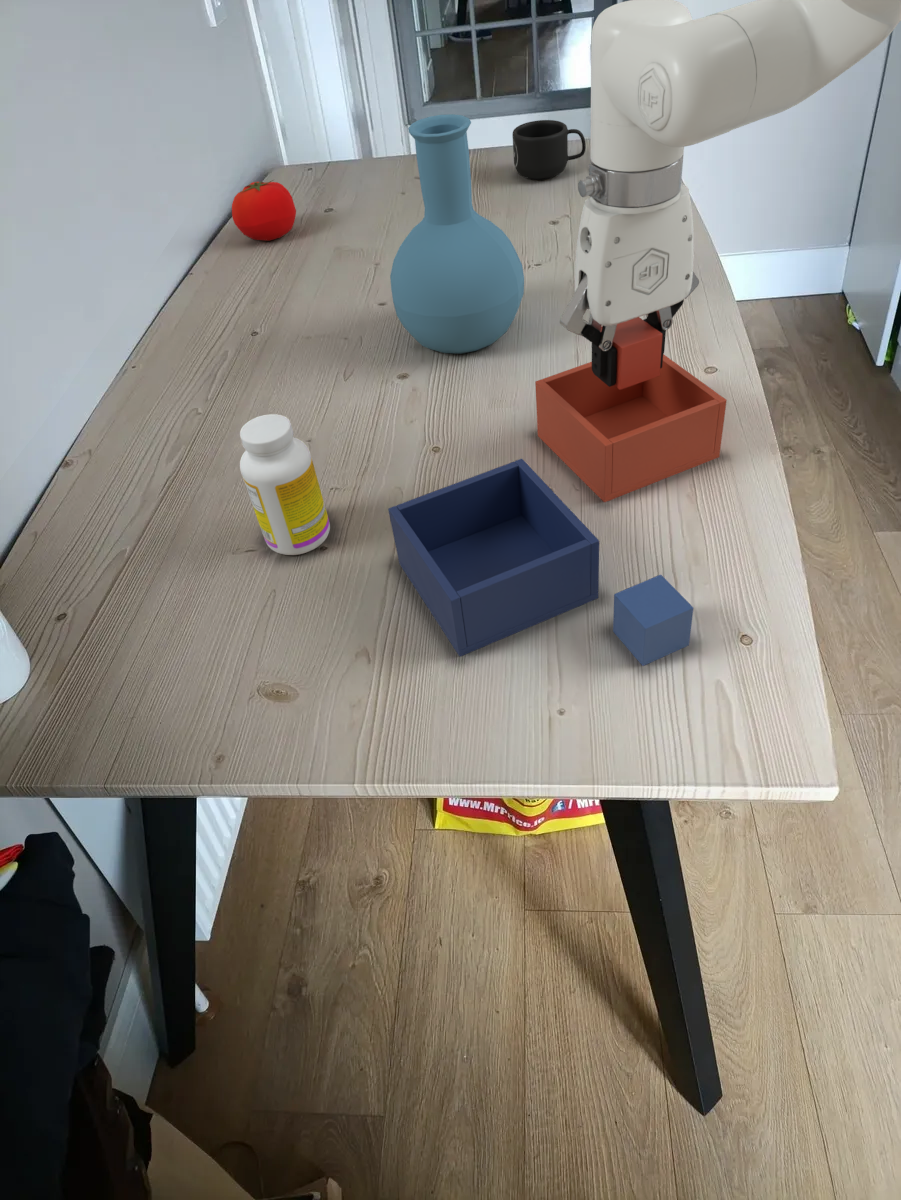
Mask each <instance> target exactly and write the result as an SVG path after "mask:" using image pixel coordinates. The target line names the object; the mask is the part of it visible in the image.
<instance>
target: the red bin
mask: <svg viewBox="0 0 901 1200" xmlns="http://www.w3.org/2000/svg"><path fill="white" fill-rule="evenodd" d="M534 382H535V383H534V386H535V407H536V426H537V437H538V438H539V439H540V440H541V441H542V442H543V443H544V444H545V445H546V446H547V447H548V448H549V449H550V450H551V451H552V452H553V453H554V454H555V455H556V456H557V457H558V458H559V459H560V460H561V461H562V462H563V463H564V464H565V465H566V466H567V468H569V469H570V470H571V471H572V472H573V473H574V474H575V475H576V476H577V477H578V478H579V479H580V480H581V481H582V482H583V483H584V485H586V486H587V487H588V488H589V489H590V490H591V491H592V492H593V493H594V494H595V495H596V497H598V498H599V499H600V500H601V501H602V502H603V503H606V502H610V501H612V500H614V499H618V498H620V497H622V496H625V495H628V494H630V493H632V492H634V491H637V490H640V489H642V488H644V487H648V486H651V485H652V484H655V483H658V482H660V481H662V480H664V479H667V478H670V477H673V476H675V475H678V474H680V473H683V472H685V471H688V470H690V469H693V468H695V467H699V466H700V465H703V464H706V463H708V462H710V461H713V460H715V459H718V458H720V455H721V448H722V439H723V431H724V424H725V415H726V408H727V399H726V398H724V397H723V396H722V395H720V393H718V392H716V391H715V390H713V389H712V388H711V387H709V386H708V385H706V384H705V383H704V382H703V381H701V380H700V379H698V378H697V377H696V376H694V375H693V374H692V373H690V372H689V371H687V370H686V369H685V368H683V367H682V366H681V365H679V364H678V363H677V362H675V361H673V359H671V358H669V357H668V356H666V354H665V353H664V354H663V364H662V368H660V376H657V377H655V378H652V379H649V380H646V381H644V382H641V383H638V384H635V385H633V386H630V387H627V388H624V389H621V390H620V389H618V388H617V387H616V386H615V385H613V386H611V387H609V386H608V385H606V384H605V383H604V382H603V381H602V380H600V379H599V378H598V377H597V376H596V375H594V373H593V371H592V361H590V362H587V363H584V364H581V365H578V366H575V367H572V368H570V369H567V370H564V371H560V372H558V373H555V374H553V375H550V376H547V377H544V378H542V379H538V380H535V381H534Z"/></svg>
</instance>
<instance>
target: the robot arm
mask: <svg viewBox="0 0 901 1200" xmlns="http://www.w3.org/2000/svg"><path fill="white" fill-rule="evenodd" d="M900 22H901V0H752V1H751V2H749V1H748V2H746V3H743V4H740V5H737V6H734V7H731V8H728V9H725V10H722V11H719V12H715V13H712V14H708V15H706V16H703V17H699V18H695V19H693V17H692V14H691V12H690V9H689V8H688V7H687V6H686V5H685V4H684V3H682V2H680V1H677V0H625V1H622V2H618V3H615V4H613V5H611V6H608V7H607V8H605V9H603V11H601V12H600V13H599V14H598V15H597V17H596V19H595V21H594V23H593V26H592V30H591V38H590V39H591V40H590V150H589V151H590V152H589V153H590V154H589V156H590V163H589V164H588V175H587V176H586V177H585V178H582V179H580V180H579V181H578V183H577V190H578V193H579V195H580V197H582V198H586V197H588V198H587V199H585V200H584V202H583V206H582V207H583V208H582V209H581V210H582V211H581V216H580V221H579V226H578V233H577V241H576V250H575V262H574V293H573V295H572V297H571V299H570V300H569V302H568V304H567V306H566V308H565V310H564V312H563V313H562V315H561V316H560V318H559V324H560V325H561V326H562V327H563V328H564V329H566V330H567V331H569V332H571V333H573V334H575V335H578V336H581V337H583V338H585V339H586V340H587V341H589V342H590V343H591V362H592V371H593V373H594V375H596V376H597V377H598V378H599V379H600V380H602V381H603V382H604V383H605V384H606V385H608V386H609V387H611V386H613V385H615V383H616V372H617V349H616V348H615V347H614V346H612V344H613V339H614V335H615V331H616V327H617V324H619V323H622V322H626V321H628V320H631V319H634V318H637V317H640V318H641V317H643V316H645V317H646V318H643V320H644V321H645V322H647V323H648V324H649V325H651V326H652V327H654V328H655V329H657V330H658V331H659V332H661V333H662V348H661V363H660V368H662V364H663V354H664V355H665V349H666V336H667V335H666V334H667V331H668V330H669V329H670V328H671V327H672V325H673V323H674V321H673V318H674V317H675V315H676V314H677V313H678V311H679V310H680V309H681V308H682V306H683V304H684V303H685V302H684V301H685V300H686V299H687V298H689V296H690V295H691V294H692V293H693V292H694V291H695V290H696V288H697V287H698V286H699V284H700V279H699V278H698V276H697V275H696V273H695V272H694V255H695V253H694V243H695V241H694V240H695V239H694V218H693V208H692V202H691V194H690V189H689V187H688V186H687V185H684V184H683V183H682V180H683V166H684V153H685V147H691V146H693V145H696V144H700V143H702V142H705V141H708V140H711V139H714V138H716V137H719V136H721V135H725V134H727V133H730V132H731V131H734V130H737V129H739V128H742V127H744V126H748V125H750V124H752V123H755V122H757V121H760V120H763V119H766V118H769V117H772V116H775V115H777V114H780V113H783V112H785V111H787V110H789V109H791V108H793V107H795V106H797V105H799V104H800V103H802V102H804V101H806V100H807V99H808V98H810V97H811V96H813V95H814V94H816V93H818V91H820V90H821V89H823V88H824V87H826V86H827V85H829V83H831V82H833V81H834V80H835V79H837V78H838V77H839V76H841V75H842V74H844V73H845V72H846V71H848V70H849V69H851V68H852V67H853V66H855V65H856V64H857V63H859V62H860V61H861V60H862V59H864V58H866V56H868V55H869V54H870V53H871V52H873V51H874V50H875V49H876V48H878V47H879V46H880V45H881V44H882V43H883V42H884V41H885V40H886V39H887V38H888V37H889V36H890V35H891V34H892V32H893V31H894V30H895V29H896V28H897V26H898V24H900ZM588 310H589V312H590V315H589V319H588V321H587V320H585V319H583V318H584V315H585V313H586V311H588ZM602 326H603V327H602ZM601 327H602V331H601ZM600 331H601V332H600Z"/></svg>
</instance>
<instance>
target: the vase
mask: <svg viewBox="0 0 901 1200" xmlns="http://www.w3.org/2000/svg"><path fill="white" fill-rule="evenodd" d="M471 124H472V121H471V119H470V118H469V117H467V116H465V115H462V114H456V113H455V114H454V113H452V114H451V113H450V114H449V113H447V114H437V115H430V116H427V117H423V118H421V119H418V120H416V121H414V122H412V123H411V124H410V125H409V127H408V128H407V130H408V133H409V135H410V136H411V137H412V138H413V139H414V146H415V154H416V155H415V156H416V162H417V170H418V176H419V183H420V190H421V195H422V201H423V206H424V211H423V213H424V216H423V218H422V220H421V221H420V222H418V223H417V224H416V225H414V227H413V228H412V229H411V230H410V232H409V233H408V234H407V235H406V236H405V238H404V240H403V241H402V243H401V244H400V246H399V247H398V250H397V251H396V254H395V256H394V258H393V260H392V266H391V271H390V289H391V290H390V291H391V298H392V302H393V307H394V310H395V314H396V317H397V318H398V320H399V322H400V323H401V325H402V327H403V328H404V329H405V330H406V331H407V332H408V333H409V334H410V335H411V336H412V337H413V339H415V341H416V342H417V343H419V344H420V345H421V346H422V347H424V348H426V349H428V350H431V351H435V352H439V353H443V354H457V355H459V354H461V355H462V354H467V353H472V352H477V351H480V350H483V349H484V348H487V347H489V346H491V345H493V344H494V343H495V342H496V341H498V340H499V339H500V338H502V337H503V335H505V334H506V333H507V332H508V330H509V329H510V327H511V325H512V323H513V321H514V320H515V318H516V315H517V313H518V311H519V308H520V305H521V302H522V300H523V297H524V294H525V274H524V267H523V264H522V261H521V259H520V257H519V254H518V253H517V251H516V249H515V247H514V244H513V243H512V241H511V239H510V238H509V237H508V235H507V234H506V233H505V232H504V231H503V230H502V229H501V228H500V227H499V226H498V225H496V224H495V223H494V222H492V221H491V220H489V218H488V219H487V218H486V217H484V216H482V215H481V214H480V213H478V212H477V211H476V210H475V209H474V206H473V196H472V195H473V194H472V175H471V161H470V160H471V159H470V150H469V139H468V130H469V128H470V126H471Z"/></svg>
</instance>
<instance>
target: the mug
mask: <svg viewBox="0 0 901 1200" xmlns="http://www.w3.org/2000/svg"><path fill="white" fill-rule="evenodd" d="M570 134H577V136H579V138H580V140H581V144H582V145H581V151H580V152H579V153H577V154H573V155H569V147H568V146H569V143H568V139H569V138H568V136H569V135H570ZM586 147H587V144H586V138H585V135H584V134H583V133H582V132H581V130H579V129H576V128H570V129H568V126H567V124H566V123H564V122H562V121H559V120H554V119H539V120H532V121H527V122H525V123H521V124H519V125H518V126H516V127H515V128H514V129H513V130H512V152H513V165H514V169H515V171H516V172H517V174H518V175H519V176H521V177H523V178H526V179H528V180H533V181H544V180H549V179H551V178H554V177H556V176H557V175H559V174H561V173H562V172H564V170H565V169H566V166H567V165H568V162H569V161H572V160H577V159H580V158H582V157H583V156H584V155H585V152H586V149H587V148H586Z"/></svg>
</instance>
